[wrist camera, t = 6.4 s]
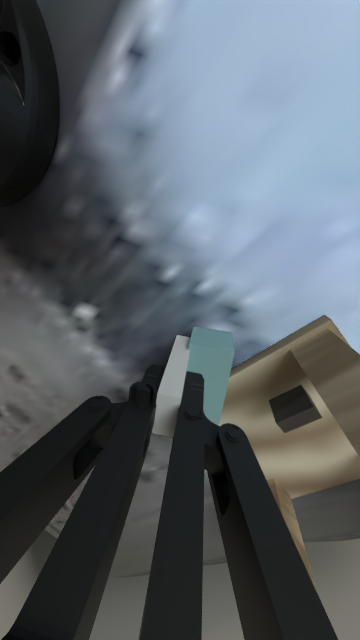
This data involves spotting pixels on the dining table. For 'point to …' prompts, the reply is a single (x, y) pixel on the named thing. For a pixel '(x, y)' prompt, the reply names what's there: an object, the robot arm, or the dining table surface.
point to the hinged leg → (212, 366)
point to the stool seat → (300, 415)
